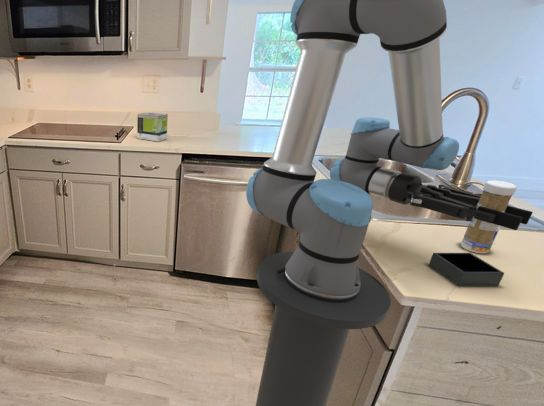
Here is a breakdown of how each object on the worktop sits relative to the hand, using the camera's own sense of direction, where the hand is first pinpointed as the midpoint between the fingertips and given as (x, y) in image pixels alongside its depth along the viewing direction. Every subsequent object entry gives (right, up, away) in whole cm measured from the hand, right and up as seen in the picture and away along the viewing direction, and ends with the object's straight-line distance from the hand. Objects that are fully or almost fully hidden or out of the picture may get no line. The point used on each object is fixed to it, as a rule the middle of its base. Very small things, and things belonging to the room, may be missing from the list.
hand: (524, 220), depth 74 cm
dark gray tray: (-2, -13, +11) cm, 17 cm away
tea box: (-57, +42, +142) cm, 159 cm away
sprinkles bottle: (-2, -5, +7) cm, 9 cm away
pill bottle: (+11, -8, +21) cm, 26 cm away
